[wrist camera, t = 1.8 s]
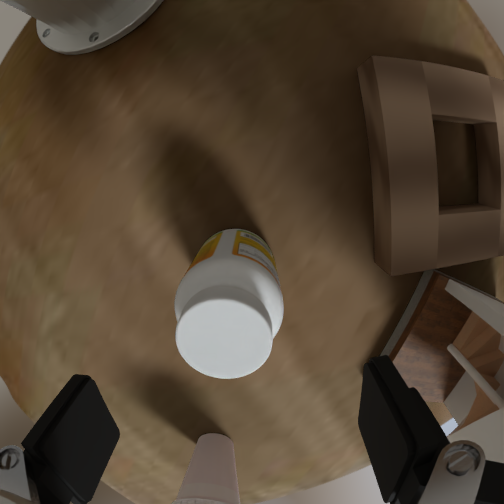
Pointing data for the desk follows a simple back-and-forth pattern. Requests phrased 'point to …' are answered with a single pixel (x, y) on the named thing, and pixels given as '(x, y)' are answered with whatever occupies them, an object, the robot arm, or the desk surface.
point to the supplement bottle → (229, 305)
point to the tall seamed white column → (455, 356)
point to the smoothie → (210, 473)
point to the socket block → (430, 163)
